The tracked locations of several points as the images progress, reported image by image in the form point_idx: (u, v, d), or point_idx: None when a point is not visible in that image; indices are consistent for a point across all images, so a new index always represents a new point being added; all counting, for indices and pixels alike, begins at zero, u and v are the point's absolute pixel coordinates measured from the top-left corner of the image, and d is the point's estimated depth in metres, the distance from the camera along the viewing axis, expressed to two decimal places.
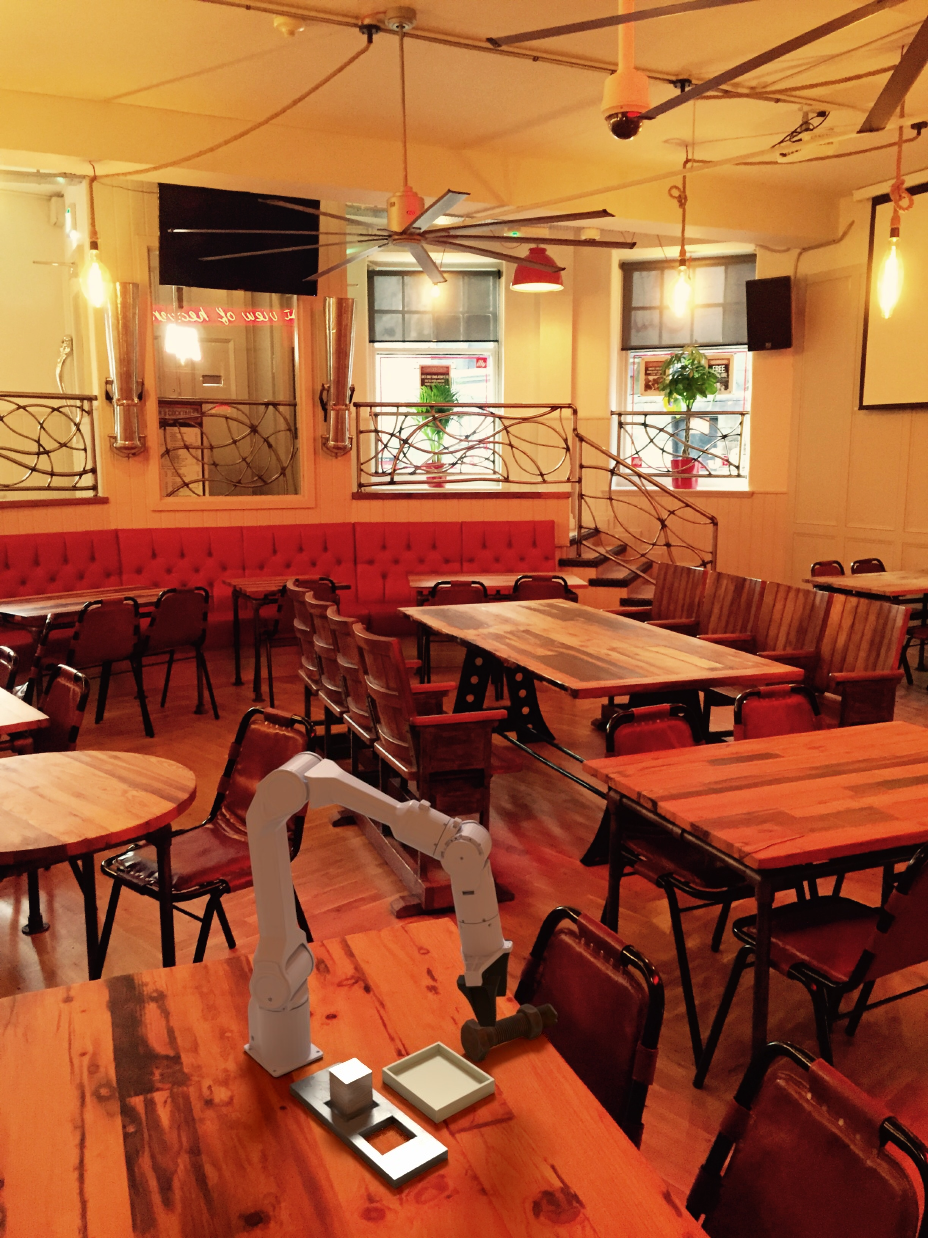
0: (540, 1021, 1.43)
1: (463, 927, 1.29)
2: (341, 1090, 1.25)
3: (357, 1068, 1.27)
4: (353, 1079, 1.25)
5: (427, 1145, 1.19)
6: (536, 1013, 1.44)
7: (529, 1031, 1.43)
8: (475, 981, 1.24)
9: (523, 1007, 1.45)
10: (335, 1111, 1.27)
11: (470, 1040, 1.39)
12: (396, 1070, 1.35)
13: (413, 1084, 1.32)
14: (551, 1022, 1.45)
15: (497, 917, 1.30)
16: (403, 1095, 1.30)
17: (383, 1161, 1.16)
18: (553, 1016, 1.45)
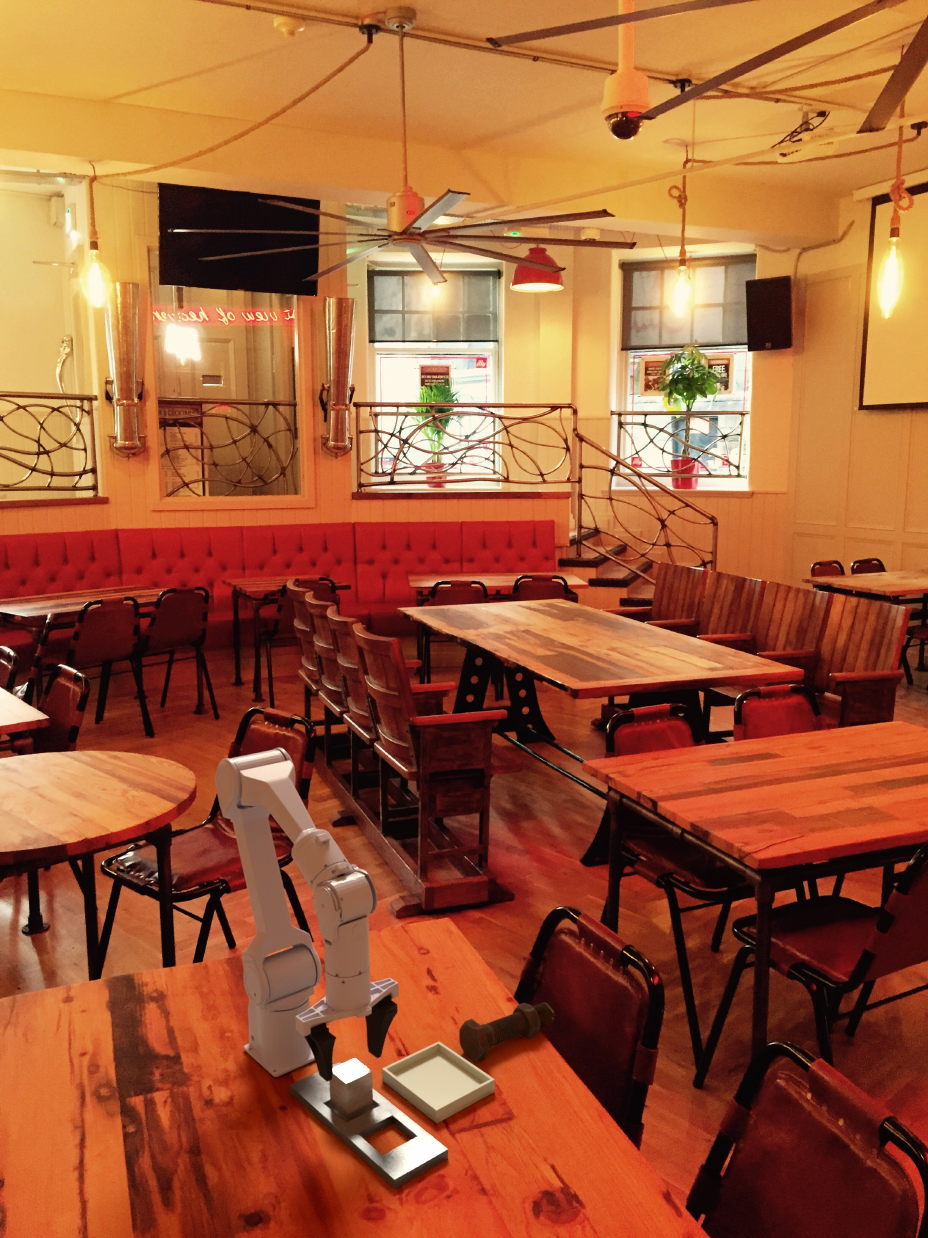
0: (538, 1020, 1.44)
1: (325, 972, 1.24)
2: (341, 1090, 1.25)
3: (357, 1068, 1.27)
4: (353, 1079, 1.25)
5: (427, 1145, 1.19)
6: (534, 1012, 1.44)
7: (527, 1030, 1.43)
8: (301, 1030, 1.21)
9: (520, 1006, 1.45)
10: (335, 1111, 1.27)
11: (469, 1041, 1.39)
12: (396, 1070, 1.35)
13: (413, 1084, 1.32)
14: (548, 1020, 1.46)
15: (356, 978, 1.22)
16: (403, 1095, 1.30)
17: (383, 1161, 1.16)
18: (550, 1014, 1.46)
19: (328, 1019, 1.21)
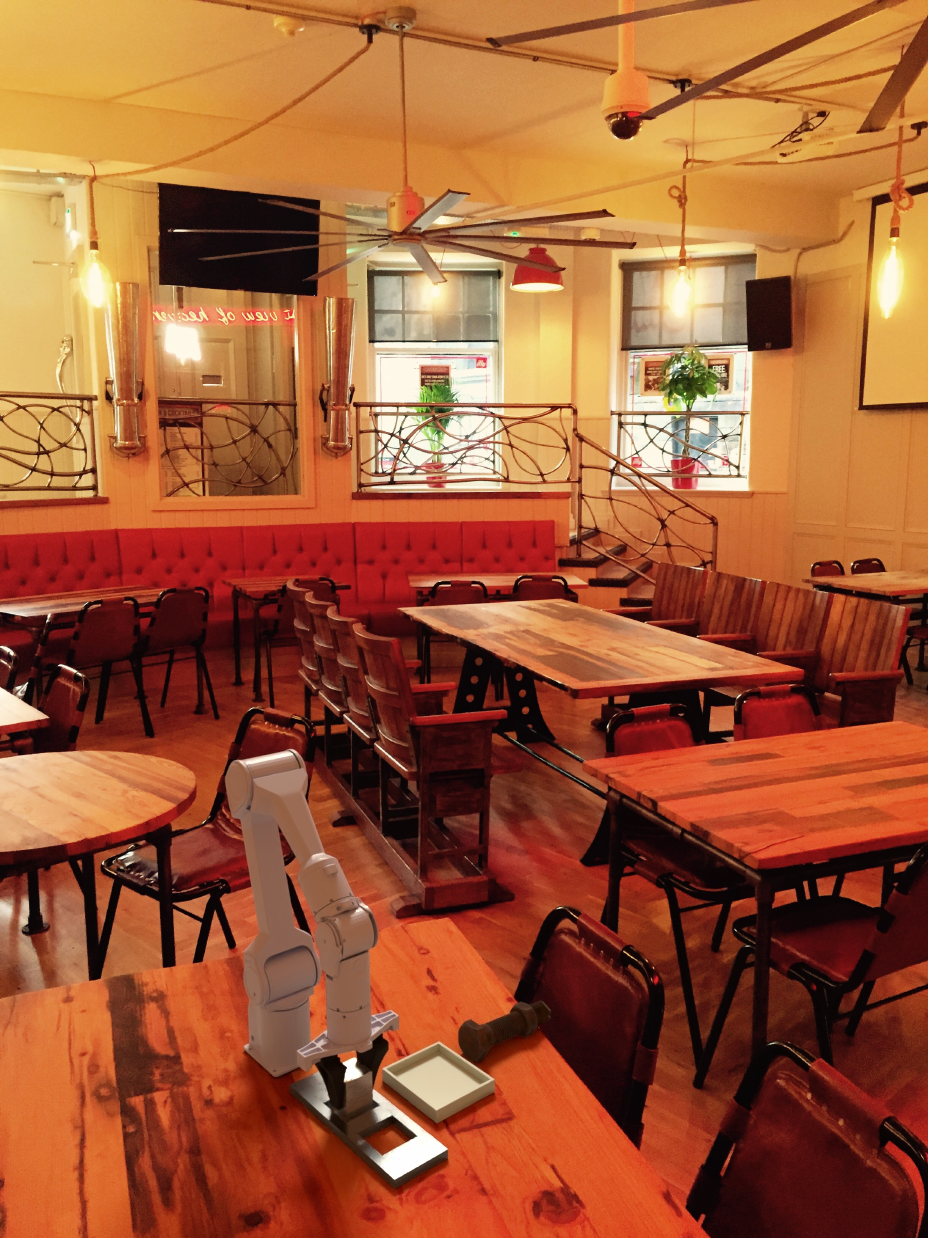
0: (535, 1018, 1.44)
1: (326, 1006, 1.25)
2: None
3: (357, 1068, 1.27)
4: (353, 1078, 1.25)
5: (427, 1145, 1.19)
6: (531, 1011, 1.44)
7: (525, 1029, 1.44)
8: (302, 1065, 1.21)
9: (518, 1005, 1.45)
10: (335, 1111, 1.27)
11: (469, 1041, 1.39)
12: (396, 1070, 1.35)
13: (413, 1084, 1.32)
14: (545, 1019, 1.46)
15: (357, 1013, 1.23)
16: (403, 1095, 1.30)
17: (383, 1161, 1.16)
18: (547, 1013, 1.46)
19: (329, 1054, 1.22)
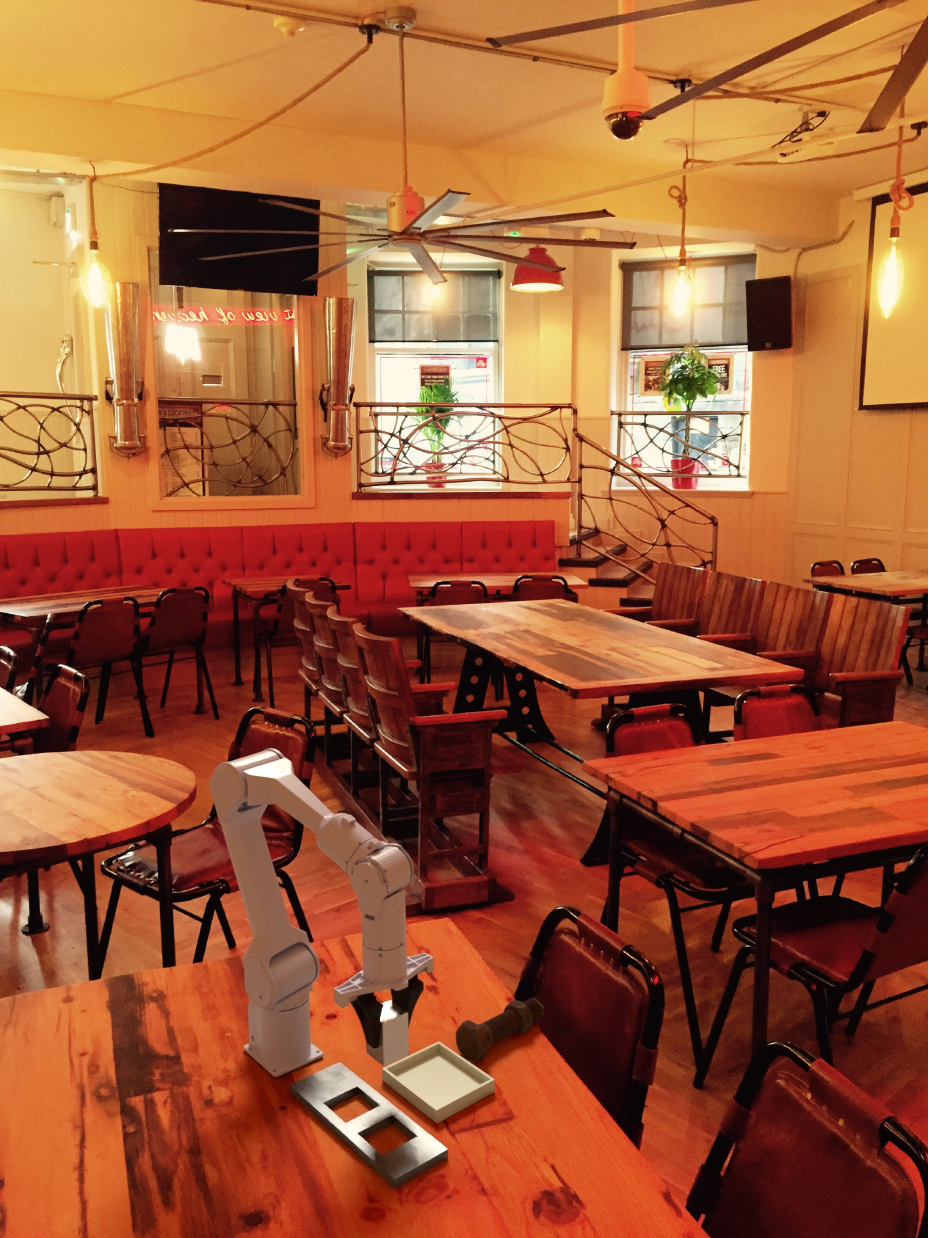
0: (530, 1016, 1.45)
1: (362, 946, 1.26)
2: None
3: (393, 1009, 1.28)
4: (389, 1018, 1.26)
5: (427, 1145, 1.19)
6: (526, 1008, 1.45)
7: (520, 1027, 1.44)
8: (339, 1001, 1.22)
9: (512, 1003, 1.46)
10: (371, 1051, 1.28)
11: (468, 1041, 1.39)
12: (396, 1070, 1.35)
13: (413, 1084, 1.32)
14: (539, 1016, 1.47)
15: (393, 951, 1.24)
16: (403, 1095, 1.30)
17: (383, 1161, 1.16)
18: (540, 1009, 1.47)
19: (366, 991, 1.23)
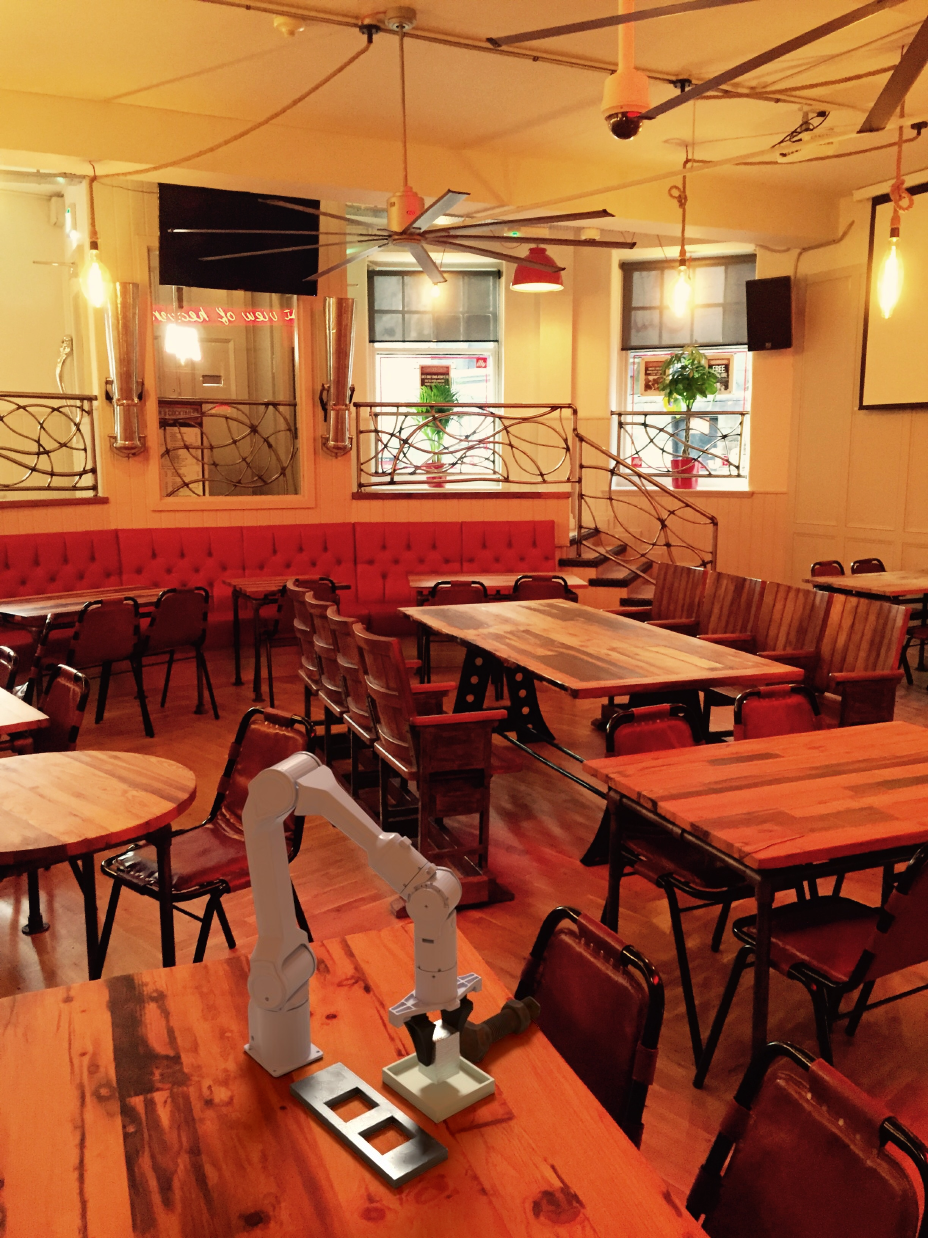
0: (528, 1014, 1.45)
1: None
2: None
3: (444, 1029, 1.32)
4: (442, 1038, 1.30)
5: (427, 1145, 1.19)
6: (523, 1007, 1.45)
7: (518, 1025, 1.44)
8: (394, 1022, 1.26)
9: (509, 1003, 1.46)
10: (423, 1070, 1.32)
11: (468, 1042, 1.38)
12: (396, 1070, 1.35)
13: (413, 1084, 1.32)
14: (535, 1014, 1.48)
15: (446, 973, 1.28)
16: (403, 1095, 1.30)
17: (383, 1161, 1.16)
18: (537, 1008, 1.48)
19: (420, 1012, 1.27)
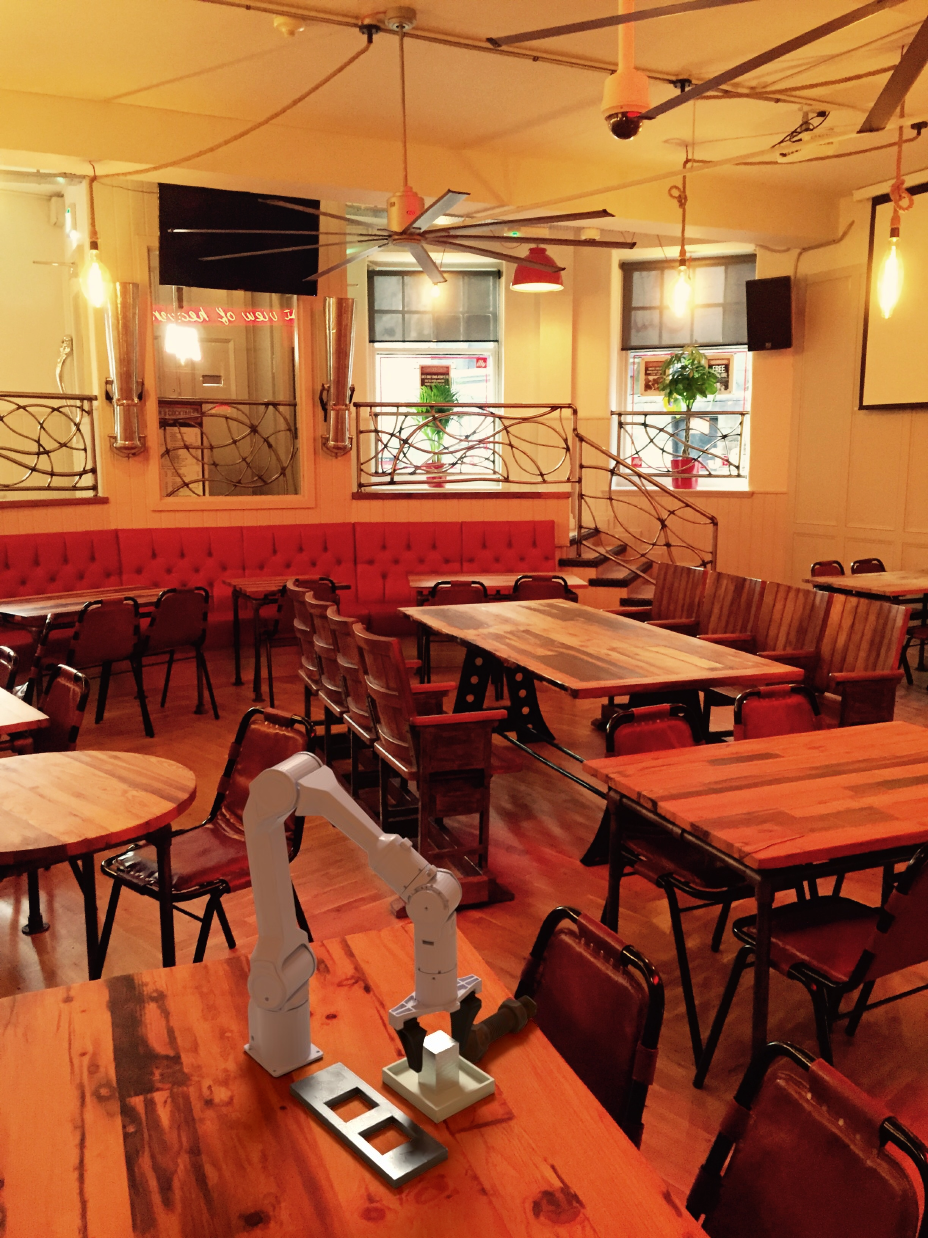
0: (525, 1013, 1.45)
1: None
2: (430, 1060, 1.30)
3: (444, 1040, 1.32)
4: (441, 1049, 1.30)
5: (427, 1145, 1.19)
6: (520, 1006, 1.46)
7: (516, 1025, 1.45)
8: (394, 1024, 1.26)
9: (506, 1002, 1.46)
10: (423, 1081, 1.32)
11: (467, 1042, 1.38)
12: (396, 1070, 1.35)
13: (413, 1084, 1.32)
14: (532, 1013, 1.48)
15: (446, 975, 1.28)
16: (403, 1095, 1.30)
17: (383, 1161, 1.16)
18: (533, 1007, 1.48)
19: (420, 1014, 1.27)
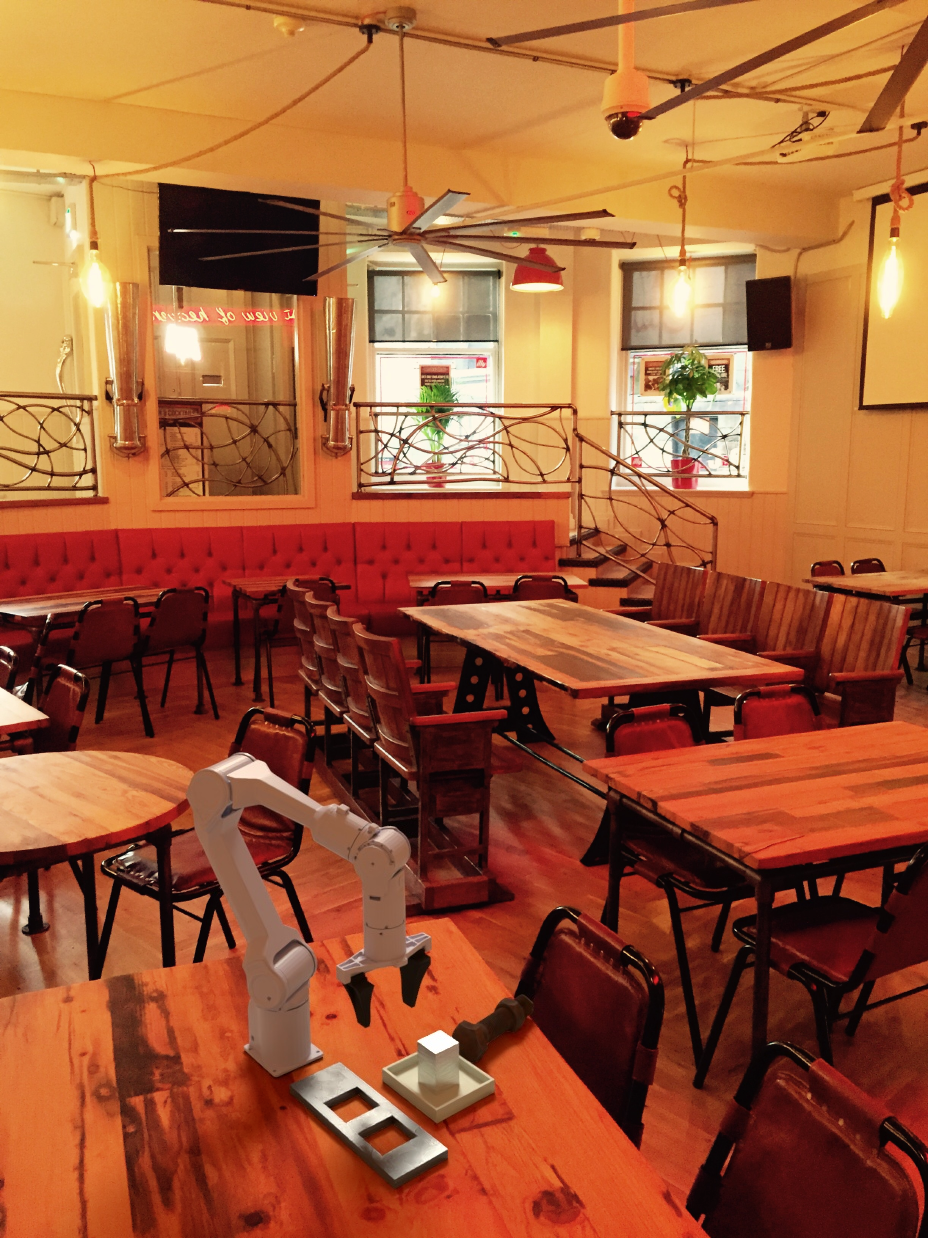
0: (522, 1012, 1.46)
1: (363, 925, 1.31)
2: (430, 1060, 1.30)
3: (444, 1040, 1.32)
4: (441, 1049, 1.30)
5: (427, 1145, 1.19)
6: (518, 1005, 1.46)
7: (513, 1024, 1.45)
8: (341, 978, 1.28)
9: (504, 1001, 1.46)
10: (423, 1081, 1.32)
11: (466, 1042, 1.38)
12: (396, 1070, 1.35)
13: (413, 1084, 1.32)
14: None
15: (393, 930, 1.29)
16: (403, 1095, 1.30)
17: (383, 1161, 1.16)
18: (530, 1006, 1.48)
19: (367, 968, 1.28)
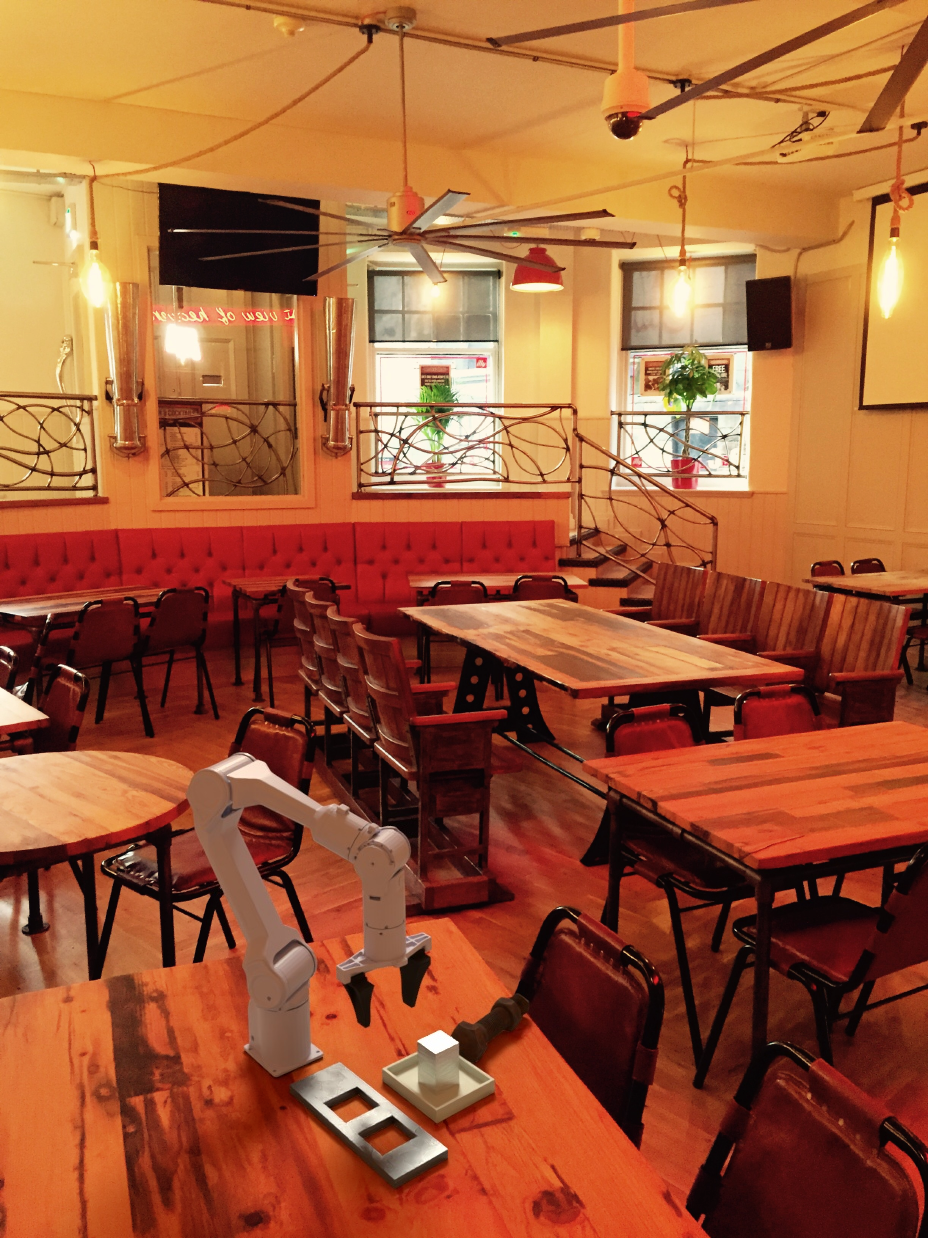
0: (519, 1011, 1.46)
1: (363, 925, 1.31)
2: (430, 1060, 1.30)
3: (444, 1040, 1.32)
4: (441, 1049, 1.30)
5: (427, 1145, 1.19)
6: (515, 1004, 1.46)
7: (510, 1023, 1.45)
8: (341, 978, 1.28)
9: (500, 1001, 1.47)
10: (423, 1081, 1.32)
11: (465, 1042, 1.38)
12: (396, 1070, 1.35)
13: (413, 1084, 1.32)
14: (525, 1010, 1.49)
15: (393, 930, 1.29)
16: (403, 1095, 1.30)
17: (383, 1161, 1.16)
18: (526, 1004, 1.49)
19: (367, 968, 1.28)
